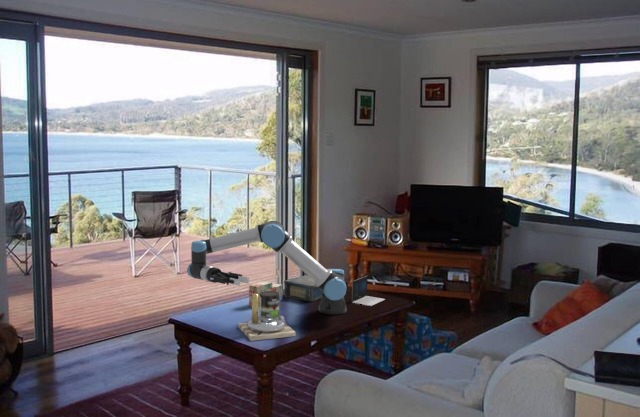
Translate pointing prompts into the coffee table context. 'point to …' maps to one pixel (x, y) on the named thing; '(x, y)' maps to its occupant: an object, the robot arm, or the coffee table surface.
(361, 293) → the laptop
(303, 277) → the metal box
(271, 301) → the coffee can
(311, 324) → the coffee table surface
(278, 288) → the stack of blocks
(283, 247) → the robot arm
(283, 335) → the base board
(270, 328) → the disc stand with rod
